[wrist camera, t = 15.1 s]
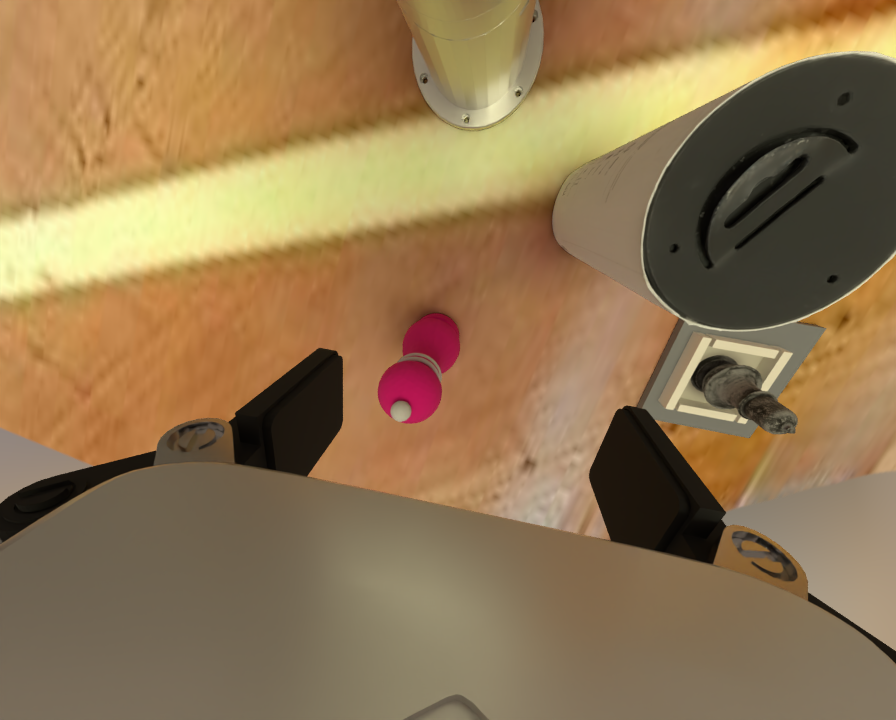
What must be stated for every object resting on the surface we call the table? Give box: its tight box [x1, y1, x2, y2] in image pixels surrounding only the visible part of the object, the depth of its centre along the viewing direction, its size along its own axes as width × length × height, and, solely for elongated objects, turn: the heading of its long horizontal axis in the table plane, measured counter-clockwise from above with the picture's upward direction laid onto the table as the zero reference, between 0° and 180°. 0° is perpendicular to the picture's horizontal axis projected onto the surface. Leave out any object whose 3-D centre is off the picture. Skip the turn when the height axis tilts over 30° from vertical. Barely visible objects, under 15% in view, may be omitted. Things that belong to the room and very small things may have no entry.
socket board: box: [637, 318, 826, 438], centre depth 40 cm, size 16×15×3 cm
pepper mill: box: [378, 313, 460, 423], centre depth 36 cm, size 7×7×20 cm
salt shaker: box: [691, 355, 797, 434], centre depth 35 cm, size 6×6×12 cm
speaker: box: [552, 51, 896, 331], centre depth 24 cm, size 11×10×26 cm
